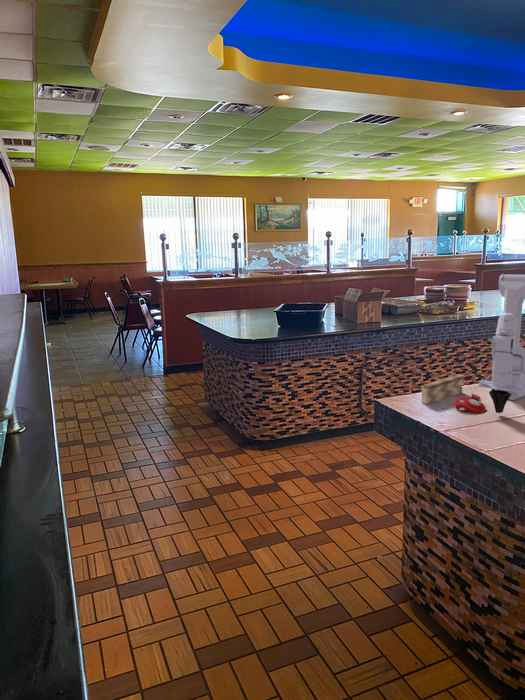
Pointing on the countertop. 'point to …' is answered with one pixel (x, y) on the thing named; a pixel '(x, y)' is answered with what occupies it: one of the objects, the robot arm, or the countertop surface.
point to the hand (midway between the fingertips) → (499, 412)
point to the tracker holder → (471, 404)
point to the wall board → (442, 388)
